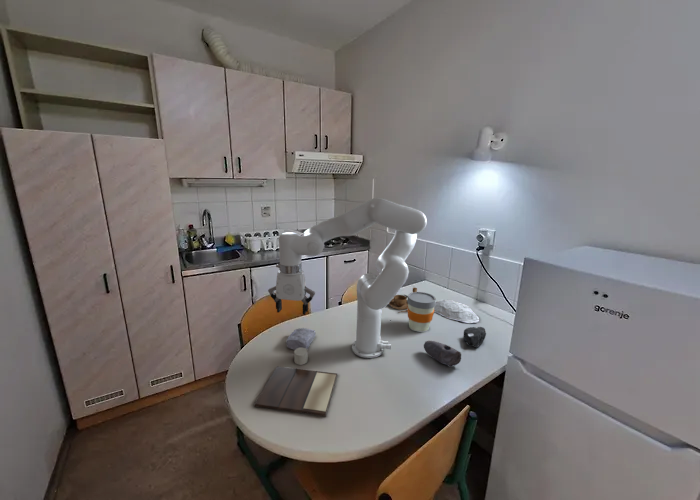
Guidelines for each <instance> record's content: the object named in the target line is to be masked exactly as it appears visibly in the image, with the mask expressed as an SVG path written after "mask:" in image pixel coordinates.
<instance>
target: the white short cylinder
mask: <svg viewBox="0 0 700 500" xmlns="http://www.w3.org/2000/svg"><path fill="white" fill-rule="evenodd" d="M308 353H309V352H308V349H306V348H297V349H295V350H293V361H294V363H295V365H299V366H301V365H305V364H307V363H308V361H309V358H308V357H309V356H308Z"/></svg>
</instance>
